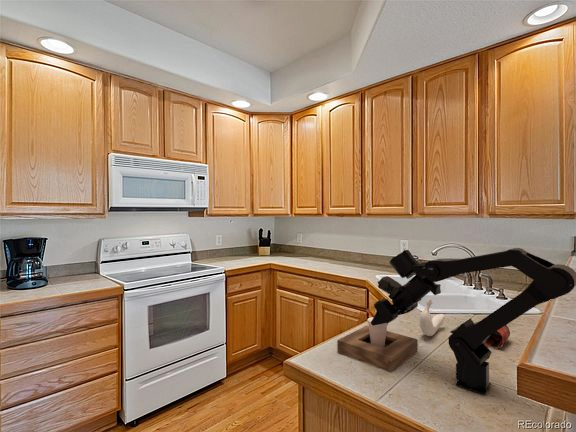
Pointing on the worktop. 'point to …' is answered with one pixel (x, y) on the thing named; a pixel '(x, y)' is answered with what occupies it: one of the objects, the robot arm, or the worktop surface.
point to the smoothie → (377, 333)
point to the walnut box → (378, 349)
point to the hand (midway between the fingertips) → (379, 320)
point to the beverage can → (498, 337)
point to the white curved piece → (430, 320)
